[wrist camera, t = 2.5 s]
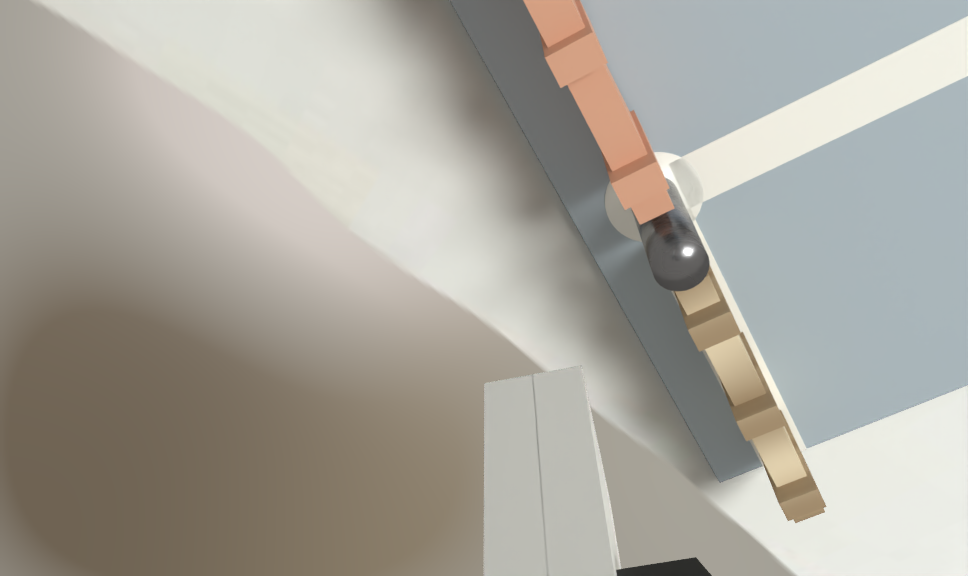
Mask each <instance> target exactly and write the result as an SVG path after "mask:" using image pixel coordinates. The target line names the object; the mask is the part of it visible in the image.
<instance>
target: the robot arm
mask: <svg viewBox="0 0 968 576" xmlns="http://www.w3.org/2000/svg"><path fill="white" fill-rule="evenodd" d="M484 386H485V387H484V388H485V390H484V391H485V392H484V398H485V399H484V400H485V401H484V576H711V574H710V573H709V572H708V571H707V570H706V569H705V567H704V566H703V565H702V564H701V563H700V562H699V560H698V559H697V558H689V559H682V560H677V561H670V562H664V563H657V564H651V565H644V566H638V567H632V568H625V569H621V564H620V558H619V552H618V546H617V540H616V534H615V528H614V522H613V516H612V511H611V505H610V498H609V494H608V489H607V484H606V479H605V475H604V470H603V465H602V460H601V456H600V451H599V446H598V441H597V437H596V432H595V428H594V423H593V418H592V414H591V408H590V403H589V399H588V394H587V389H586V385H585V380H584V375H583V370H582V366H577V367H571V368H566V369H560V370H555V371H549V372H544V373H538V374H534V375H528V376H523V377H517V378H511V379H506V380H501V381H495V382H489V383H485V385H484Z"/></svg>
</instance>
